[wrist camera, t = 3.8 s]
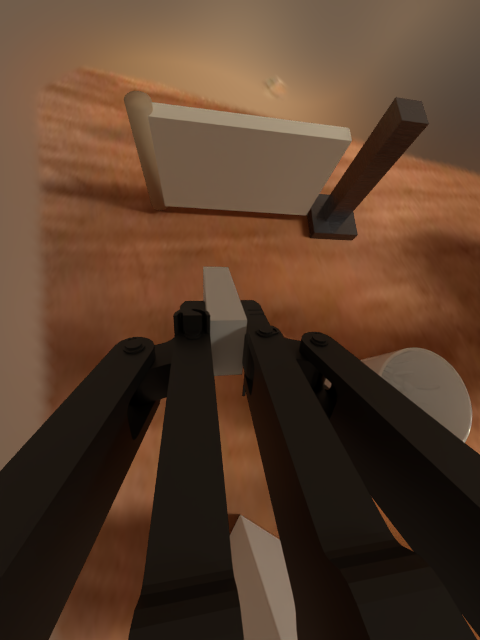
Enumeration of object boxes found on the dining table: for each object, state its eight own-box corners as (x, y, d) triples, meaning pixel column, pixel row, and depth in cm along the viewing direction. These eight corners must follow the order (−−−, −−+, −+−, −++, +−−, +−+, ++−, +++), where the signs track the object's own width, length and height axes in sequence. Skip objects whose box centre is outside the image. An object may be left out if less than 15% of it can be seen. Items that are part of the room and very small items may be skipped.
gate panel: (302, 206, 33) (351, 120, 22) (304, 219, 32) (355, 137, 22) (151, 195, 29) (124, 89, 19) (150, 209, 29) (122, 108, 18)
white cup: (301, 393, 27) (355, 396, 18) (345, 346, 29) (415, 327, 20) (351, 451, 26) (437, 486, 17) (393, 398, 29) (490, 404, 19)
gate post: (345, 202, 35) (434, 89, 22) (352, 240, 34) (452, 142, 20) (305, 199, 34) (372, 78, 21) (310, 238, 33) (387, 134, 19)
